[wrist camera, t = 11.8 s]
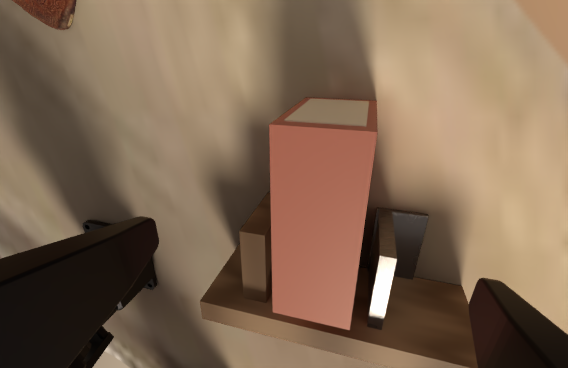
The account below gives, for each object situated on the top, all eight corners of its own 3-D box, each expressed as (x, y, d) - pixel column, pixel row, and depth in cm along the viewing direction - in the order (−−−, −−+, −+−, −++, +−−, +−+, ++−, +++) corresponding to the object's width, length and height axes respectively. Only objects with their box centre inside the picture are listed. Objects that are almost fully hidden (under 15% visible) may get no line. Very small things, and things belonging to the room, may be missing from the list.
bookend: (366, 273, 21) (364, 332, 17) (377, 207, 19) (377, 255, 15) (410, 282, 21) (420, 345, 16) (427, 214, 18) (444, 267, 14)
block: (301, 237, 22) (272, 312, 16) (306, 96, 17) (269, 123, 11) (357, 246, 21) (349, 330, 15) (376, 99, 16) (377, 130, 10)
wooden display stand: (240, 259, 24) (202, 318, 19) (235, 188, 21) (189, 233, 16) (456, 302, 20) (484, 392, 15) (484, 222, 17) (530, 297, 12)
